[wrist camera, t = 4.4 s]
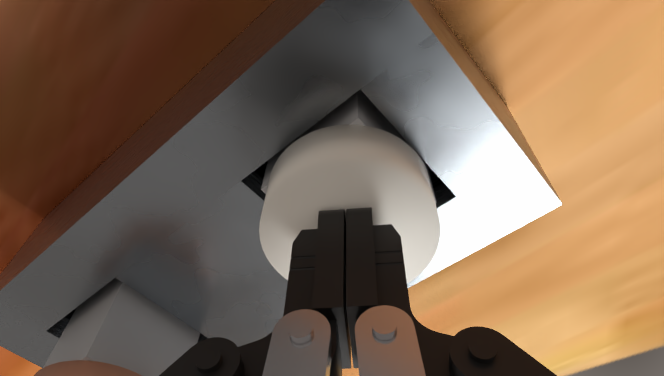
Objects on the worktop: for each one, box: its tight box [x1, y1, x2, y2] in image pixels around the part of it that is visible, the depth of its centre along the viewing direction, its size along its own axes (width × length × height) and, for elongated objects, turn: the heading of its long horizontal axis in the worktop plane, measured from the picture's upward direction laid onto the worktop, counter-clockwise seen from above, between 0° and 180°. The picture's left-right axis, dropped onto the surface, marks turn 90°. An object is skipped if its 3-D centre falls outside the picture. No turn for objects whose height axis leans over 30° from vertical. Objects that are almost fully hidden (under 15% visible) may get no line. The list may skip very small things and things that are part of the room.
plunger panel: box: [0, 0, 562, 368], centre depth 22 cm, size 10×22×7 cm, turn 131°
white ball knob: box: [259, 89, 440, 283], centre depth 17 cm, size 5×5×7 cm
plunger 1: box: [34, 278, 200, 376], centre depth 20 cm, size 5×5×7 cm
